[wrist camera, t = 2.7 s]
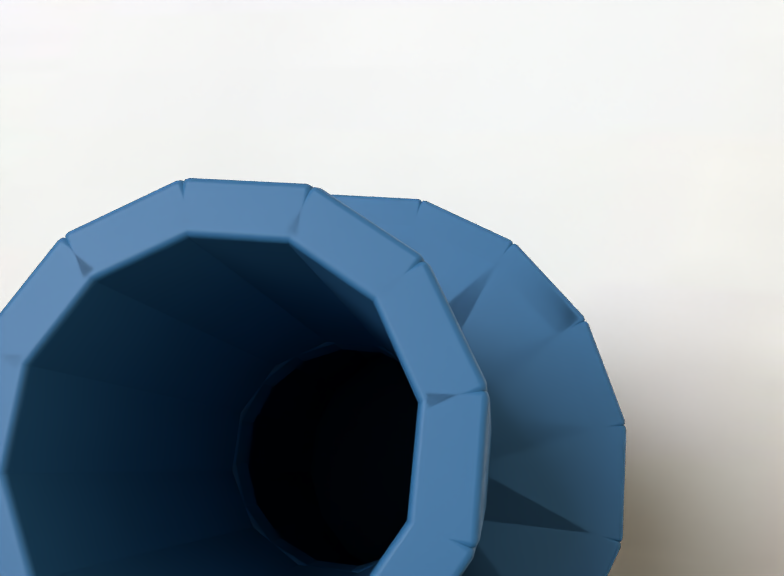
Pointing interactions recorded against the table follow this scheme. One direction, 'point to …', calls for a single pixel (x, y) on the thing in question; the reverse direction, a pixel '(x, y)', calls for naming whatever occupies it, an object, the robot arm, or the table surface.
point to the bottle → (301, 397)
